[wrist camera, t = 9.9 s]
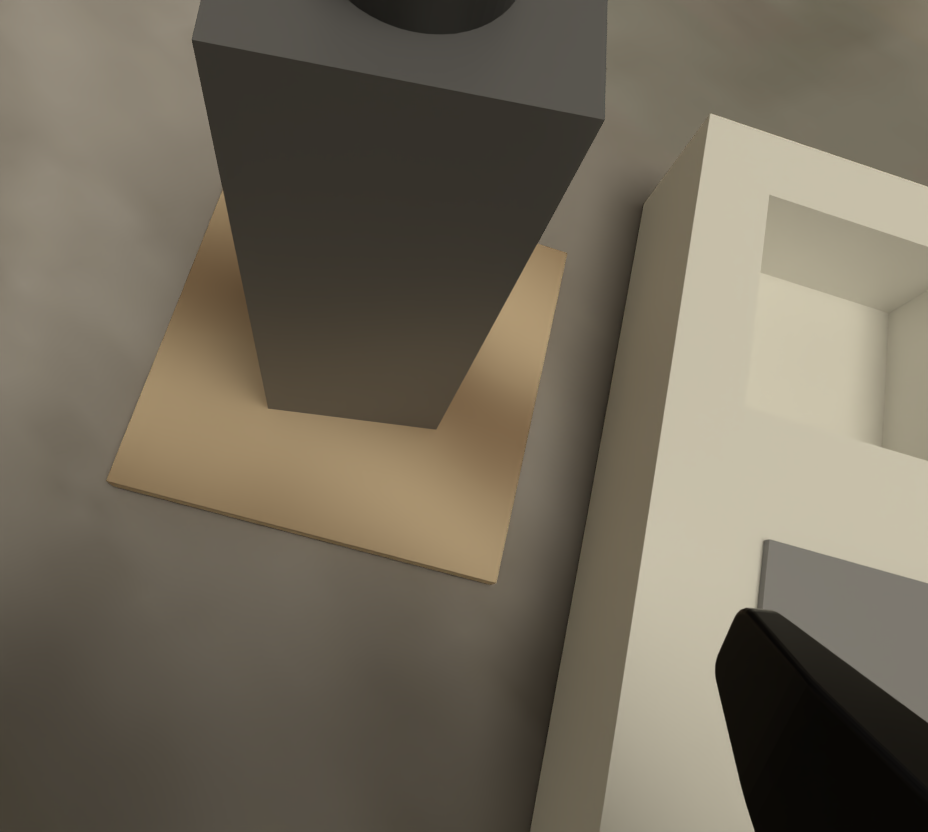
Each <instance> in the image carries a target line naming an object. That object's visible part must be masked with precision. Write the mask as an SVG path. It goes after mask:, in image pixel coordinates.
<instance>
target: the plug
mask: <svg viewBox="0 0 928 832" xmlns="http://www.w3.org/2000/svg"><path fill="white" fill-rule="evenodd" d="M607 1H608V0H201V2H200V6H199V11H198V15H197V19H196V24H195V28H194V32H193V37H192V43H193V48H194V53H195V58H196V62H197V67H198V72H199V77H200V82H201V87H202V91H203V96H204V101H205V106H206V111H207V116H208V120H209V125H210V130H211V135H212V140H213V145H214V149H215V154H216V159H217V164H218V169H219V174H220V178H221V183H222V188H223V193H224V198H225V203H226V207H227V212H228V217H229V222H230V227H231V232H232V236H233V241H234V246H235V251H236V256H237V261H238V265H239V270H240V275H241V280H242V285H243V290H244V294H245V299H246V304H247V309H248V314H249V319H250V323H251V328H252V333H253V338H254V343H255V348H256V352H257V357H258V362H259V367H260V372H261V377H262V381H263V386H264V391H265V396H266V401H267V406H268V409H276V410H284V411H292V412H299V413H307V414H315V415H323V416H331V417H339V418H347V419H355V420H363V421H371V422H379V423H387V424H395V425H403V426H411V427H419V428H427V429H435V430H436V429H437V428H438V426H439V424H440V422H441V420H442V418H443V416H444V415H445V413H446V411H447V409H448V407H449V405H450V404H451V402H452V400H453V398H454V396H455V394H456V393H457V391H458V389H459V387H460V385H461V383H462V381H463V380H464V378H465V376H466V374H467V372H468V370H469V369H470V367H471V365H472V363H473V361H474V359H475V358H476V356H477V354H478V352H479V350H480V348H481V347H482V345H483V343H484V341H485V339H486V337H487V335H488V334H489V332H490V330H491V328H492V326H493V324H494V323H495V321H496V319H497V317H498V315H499V313H500V312H501V310H502V308H503V306H504V304H505V302H506V300H507V299H508V297H509V295H510V293H511V291H512V289H513V288H514V286H515V284H516V282H517V280H518V278H519V277H520V275H521V273H522V271H523V269H524V267H525V266H526V264H527V262H528V260H529V258H530V256H531V254H532V253H533V251H534V249H535V247H536V245H537V243H538V242H539V240H540V238H541V236H542V234H543V232H544V231H545V229H546V227H547V225H548V223H549V221H550V219H551V218H552V216H553V214H554V212H555V210H556V208H557V207H558V205H559V203H560V201H561V199H562V197H563V196H564V194H565V192H566V190H567V188H568V186H569V185H570V183H571V181H572V179H573V177H574V175H575V173H576V172H577V170H578V168H579V166H580V164H581V162H582V161H583V159H584V157H585V155H586V153H587V151H588V150H589V148H590V146H591V144H592V142H593V140H594V138H595V137H596V135H597V133H598V131H599V129H600V127H601V126H602V124H603V122H604V120H605V85H606V43H607Z"/></svg>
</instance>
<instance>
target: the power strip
mask: <svg viewBox="0 0 928 832" xmlns="http://www.w3.org/2000/svg"><path fill="white" fill-rule="evenodd" d="M743 608H757V609H767V610H773V611H776V612H778V613H780V614H781V615H783V616H784V617H785V618H787V619H788V620H790V621H791V622H792V623H794V624H795V625H796V626H798V627H799V628H800V629H802V630H803V631H804V632H806V633H807V634H809V635H810V636H811V637H813V638H814V639H815V640H817V641H818V642H819V643H821V644H822V645H823V646H825V647H826V648H827V649H829V650H830V651H832V652H833V653H834V654H836V655H837V656H838V657H840V658H841V659H842V660H844V661H845V662H846V663H848V664H849V665H851V666H852V667H853V668H855V669H856V670H857V671H859V672H860V673H861V674H863V675H864V676H865V677H867V678H868V679H870V680H871V681H872V682H874V683H875V684H876V685H878V686H879V687H880V688H882V689H883V690H884V691H886V692H887V693H888V694H890V695H891V696H893V697H894V698H895V699H897V700H898V701H899V702H901V703H902V704H903V705H905V706H906V707H907V708H909V709H910V710H912V711H913V712H914V713H916V714H917V715H918V716H920V717H921V718H922V719H924V720H925V721H926V722H928V187H927V186H924V185H921V184H918V183H915V182H912V181H909V180H906V179H903V178H900V177H897V176H894V175H891V174H888V173H885V172H882V171H880V170H877V169H874V168H871V167H868V166H865V165H862V164H859V163H856V162H853V161H850V160H847V159H844V158H841V157H838V156H835V155H832V154H829V153H826V152H823V151H820V150H817V149H814V148H811V147H808V146H805V145H802V144H800V143H797V142H794V141H791V140H788V139H785V138H782V137H779V136H776V135H773V134H770V133H767V132H764V131H761V130H758V129H755V128H752V127H749V126H746V125H743V124H740V123H737V122H734V121H731V120H728V119H725V118H722V117H720V116H717V115H714V114H711V113H710V114H709V116H708V117H707V119H706V120H705V121H704V123H703V124H702V125H701V127H700V128H699V129H698V131H697V132H696V133H695V135H694V136H693V138H692V139H691V140H690V142H689V143H688V144H687V146H686V147H685V148H684V150H683V151H682V153H681V154H680V155H679V157H678V158H677V159H676V161H675V162H674V163H673V165H672V166H671V168H670V169H669V170H668V172H667V173H666V174H665V176H664V177H663V178H662V180H661V181H660V183H659V184H658V185H657V187H656V188H655V189H654V191H653V192H652V193H651V195H650V196H649V198H648V199H647V200H646V202H645V203H644V205H643V211H642V216H641V222H640V227H639V233H638V238H637V244H636V249H635V255H634V261H633V266H632V272H631V277H630V283H629V288H628V294H627V299H626V305H625V310H624V316H623V321H622V327H621V332H620V338H619V343H618V349H617V354H616V360H615V365H614V371H613V376H612V382H611V387H610V393H609V398H608V404H607V410H606V415H605V421H604V426H603V432H602V437H601V443H600V448H599V454H598V459H597V465H596V470H595V476H594V481H593V487H592V492H591V498H590V503H589V509H588V514H587V520H586V525H585V531H584V536H583V542H582V547H581V553H580V559H579V564H578V570H577V575H576V581H575V586H574V592H573V597H572V603H571V608H570V614H569V619H568V625H567V630H566V636H565V641H564V647H563V652H562V658H561V663H560V669H559V674H558V680H557V685H556V691H555V696H554V702H553V708H552V713H551V719H550V724H549V730H548V735H547V741H546V746H545V752H544V757H543V763H542V768H541V774H540V779H539V785H538V790H537V796H536V801H535V807H534V812H533V818H532V823H531V829H530V832H755V831H754V828H753V825H752V822H751V819H750V816H749V812H748V809H747V806H746V803H745V799H744V796H743V792H742V788H741V785H740V781H739V777H738V772H737V768H736V764H735V760H734V755H733V751H732V747H731V743H730V738H729V734H728V730H727V726H726V721H725V717H724V713H723V709H722V704H721V700H720V696H719V692H718V687H717V683H716V678H715V663H716V658H717V655H718V653H719V651H720V648H721V646H722V644H723V642H724V639H725V637H726V635H727V633H728V630H729V628H730V626H731V624H732V621H733V619H734V617H735V615H736V613H737V612H739V611H740V610H741V609H743Z"/></svg>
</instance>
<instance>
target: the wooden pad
mask: <svg viewBox="0 0 928 832" xmlns="http://www.w3.org/2000/svg"><path fill="white" fill-rule="evenodd" d="M566 256H567V253H565V252H562V251H559V250H556V249H552V248H549V247H546V246H543V245H540V244H537V245H536V247H535V249H534V251H533V253H532V254H531V256H530V258H529V260H528V262H527V264H526V266H525V267H524V269H523V271H522V273H521V275H520V277H519V278H518V280H517V282H516V284H515V286H514V288H513V289H512V291H511V293H510V295H509V297H508V299H507V300H506V302H505V304H504V306H503V308H502V310H501V312H500V313H499V315H498V317H497V319H496V321H495V323H494V324H493V326H492V328H491V330H490V332H489V334H488V335H487V337H486V339H485V341H484V343H483V345H482V347H481V348H480V350H479V352H478V354H477V356H476V358H475V359H474V361H473V363H472V365H471V367H470V369H469V370H468V372H467V374H466V376H465V378H464V380H463V381H462V383H461V385H460V387H459V389H458V391H457V393H456V394H455V396H454V398H453V400H452V402H451V404H450V405H449V407H448V409H447V411H446V413H445V415H444V416H443V418H442V420H441V422H440V424H439V426H438V428H437V429H436V430H435V429H427V428H419V427H411V426H403V425H395V424H387V423H379V422H371V421H363V420H355V419H347V418H339V417H331V416H323V415H315V414H307V413H299V412H292V411H284V410H276V409H268V406H267V401H266V396H265V391H264V386H263V381H262V377H261V372H260V367H259V362H258V357H257V352H256V348H255V343H254V338H253V333H252V328H251V323H250V319H249V314H248V309H247V304H246V299H245V294H244V290H243V285H242V280H241V275H240V270H239V265H238V261H237V256H236V251H235V246H234V241H233V236H232V232H231V227H230V222H229V217H228V212H227V207H226V203H225V198H224V193H223V190H222V193H221V195H220V198H219V200H218V203H217V205H216V208H215V210H214V213H213V215H212V218H211V220H210V223H209V225H208V228H207V230H206V233H205V235H204V238H203V240H202V243H201V245H200V248H199V250H198V253H197V255H196V258H195V260H194V263H193V265H192V268H191V270H190V273H189V275H188V278H187V280H186V283H185V285H184V288H183V290H182V293H181V295H180V298H179V300H178V303H177V305H176V308H175V310H174V313H173V315H172V318H171V320H170V323H169V325H168V328H167V330H166V333H165V335H164V338H163V340H162V343H161V345H160V348H159V350H158V353H157V355H156V358H155V360H154V363H153V365H152V368H151V370H150V373H149V375H148V378H147V380H146V383H145V385H144V388H143V390H142V393H141V395H140V398H139V400H138V403H137V405H136V408H135V410H134V413H133V415H132V418H131V420H130V423H129V425H128V428H127V430H126V433H125V435H124V438H123V440H122V443H121V445H120V448H119V450H118V453H117V455H116V458H115V460H114V463H113V465H112V467H111V470H110V472H109V475H108V477H107V480H106V481H107V482H108V483H110V484H111V485H112V486H114V487H118V488H122V489H126V490H130V491H133V492H137V493H141V494H145V495H149V496H153V497H156V498H160V499H164V500H168V501H172V502H176V503H179V504H183V505H187V506H191V507H195V508H198V509H202V510H206V511H210V512H214V513H218V514H221V515H225V516H229V517H233V518H237V519H241V520H244V521H248V522H252V523H256V524H260V525H264V526H267V527H271V528H275V529H279V530H283V531H286V532H290V533H294V534H298V535H302V536H306V537H309V538H313V539H317V540H321V541H325V542H329V543H332V544H336V545H340V546H344V547H348V548H351V549H355V550H359V551H363V552H367V553H371V554H374V555H378V556H382V557H386V558H390V559H394V560H397V561H401V562H405V563H409V564H413V565H417V566H420V567H424V568H428V569H432V570H436V571H439V572H443V573H447V574H451V575H455V576H459V577H462V578H466V579H470V580H474V581H478V582H482V583H485V584H489V585H492V584H495V583H496V582H497V577H498V573H499V568H500V563H501V559H502V554H503V549H504V545H505V540H506V535H507V531H508V526H509V521H510V517H511V512H512V508H513V503H514V498H515V494H516V489H517V484H518V480H519V475H520V470H521V466H522V461H523V456H524V452H525V447H526V442H527V438H528V433H529V429H530V424H531V419H532V415H533V410H534V405H535V401H536V396H537V391H538V387H539V382H540V377H541V373H542V368H543V363H544V359H545V354H546V349H547V345H548V340H549V336H550V331H551V326H552V322H553V317H554V312H555V308H556V303H557V298H558V294H559V289H560V284H561V280H562V275H563V270H564V266H565V261H566Z"/></svg>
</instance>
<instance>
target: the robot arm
mask: <svg viewBox="0 0 928 832" xmlns="http://www.w3.org/2000/svg"><path fill="white" fill-rule="evenodd" d="M715 678H716V683H717V687H718V692H719V696H720V700H721V704H722V709H723V713H724V717H725V721H726V726H727V730H728V734H729V738H730V743H731V747H732V751H733V755H734V760H735V764H736V768H737V772H738V777H739V781H740V785H741V788H742V792H743V796H744V799H745V803H746V806H747V809H748V812H749V816H750V819H751V822H752V825H753V828H754V831H755V832H928V722H926V721H925V720H924V719H922V718H921V717H920V716H918V715H917V714H916V713H914V712H913V711H912V710H910V709H909V708H907V707H906V706H905V705H903V704H902V703H901V702H899V701H898V700H897V699H895V698H894V697H893V696H891V695H890V694H888V693H887V692H886V691H884V690H883V689H882V688H880V687H879V686H878V685H876V684H875V683H874V682H872V681H871V680H870V679H868V678H867V677H865V676H864V675H863V674H861V673H860V672H859V671H857V670H856V669H855V668H853V667H852V666H851V665H849V664H848V663H846V662H845V661H844V660H842V659H841V658H840V657H838V656H837V655H836V654H834V653H833V652H832V651H830V650H829V649H827V648H826V647H825V646H823V645H822V644H821V643H819V642H818V641H817V640H815V639H814V638H813V637H811V636H810V635H809V634H807V633H806V632H804V631H803V630H802V629H800V628H799V627H798V626H796V625H795V624H794V623H792V622H791V621H790V620H788V619H787V618H785V617H784V616H783V615H781V614H780V613H778V612H776V611H773V610H767V609H757V608H743V609H741V610H740V611H739V612H737V613H736V615H735V617H734V619H733V621H732V624H731V626H730V628H729V630H728V633H727V635H726V637H725V639H724V642H723V644H722V646H721V648H720V651H719V653H718V655H717V658H716V663H715Z"/></svg>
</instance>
